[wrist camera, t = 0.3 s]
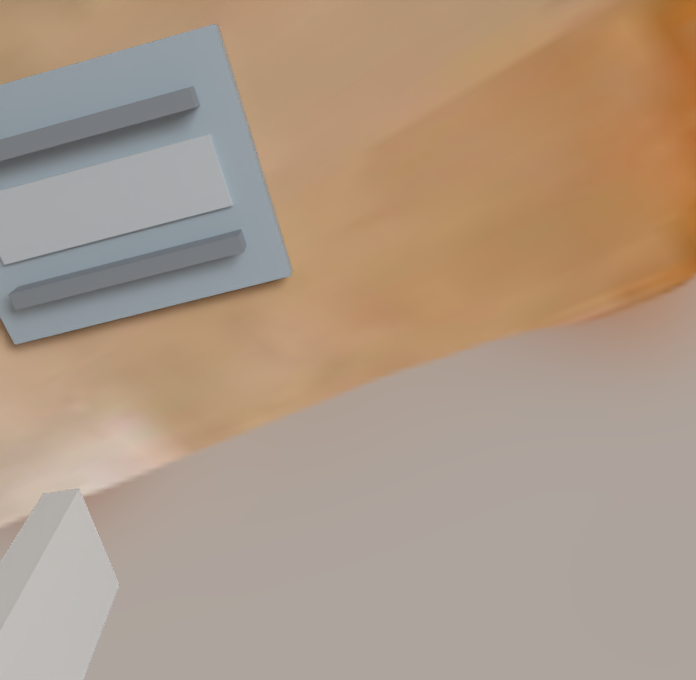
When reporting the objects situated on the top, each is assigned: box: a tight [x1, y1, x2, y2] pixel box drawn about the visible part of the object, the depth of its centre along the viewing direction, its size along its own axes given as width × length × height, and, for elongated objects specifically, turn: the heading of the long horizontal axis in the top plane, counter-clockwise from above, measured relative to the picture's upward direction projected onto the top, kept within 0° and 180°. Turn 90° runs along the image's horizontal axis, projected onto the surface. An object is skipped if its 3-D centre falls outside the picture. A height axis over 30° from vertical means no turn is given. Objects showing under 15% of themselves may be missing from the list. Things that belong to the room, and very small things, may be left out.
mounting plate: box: [0, 24, 292, 345], centre depth 35 cm, size 14×18×3 cm
